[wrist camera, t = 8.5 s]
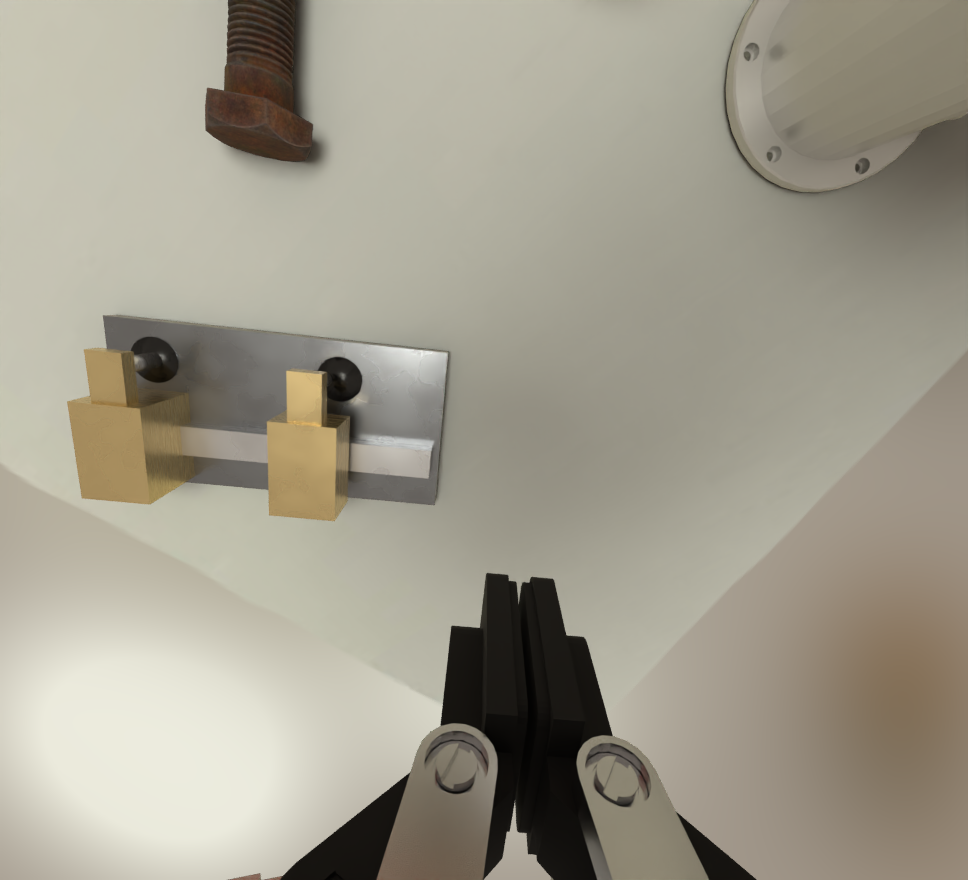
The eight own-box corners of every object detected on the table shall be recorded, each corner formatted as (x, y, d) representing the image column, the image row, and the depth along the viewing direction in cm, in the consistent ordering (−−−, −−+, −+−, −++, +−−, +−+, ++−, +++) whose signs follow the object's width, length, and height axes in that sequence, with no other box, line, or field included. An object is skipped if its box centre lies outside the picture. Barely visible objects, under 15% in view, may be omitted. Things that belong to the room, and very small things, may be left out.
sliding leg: (355, 367, 30) (337, 377, 26) (351, 494, 33) (334, 521, 29) (293, 360, 30) (265, 369, 26) (294, 489, 32) (269, 515, 28)
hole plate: (448, 351, 32) (442, 362, 26) (435, 498, 35) (428, 536, 29) (117, 315, 31) (35, 318, 25) (134, 470, 34) (66, 504, 28)
